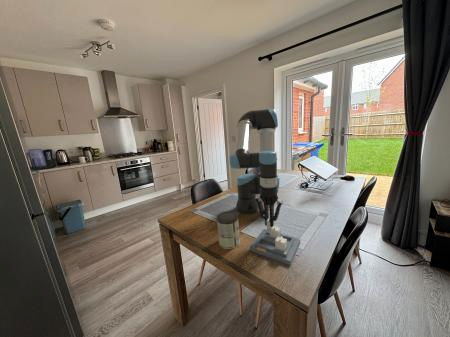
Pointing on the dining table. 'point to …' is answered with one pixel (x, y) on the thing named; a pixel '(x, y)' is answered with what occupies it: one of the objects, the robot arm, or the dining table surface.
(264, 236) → the switch board
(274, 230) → the tab
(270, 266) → the dining table surface
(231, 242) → the coffee can
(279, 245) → the tab
